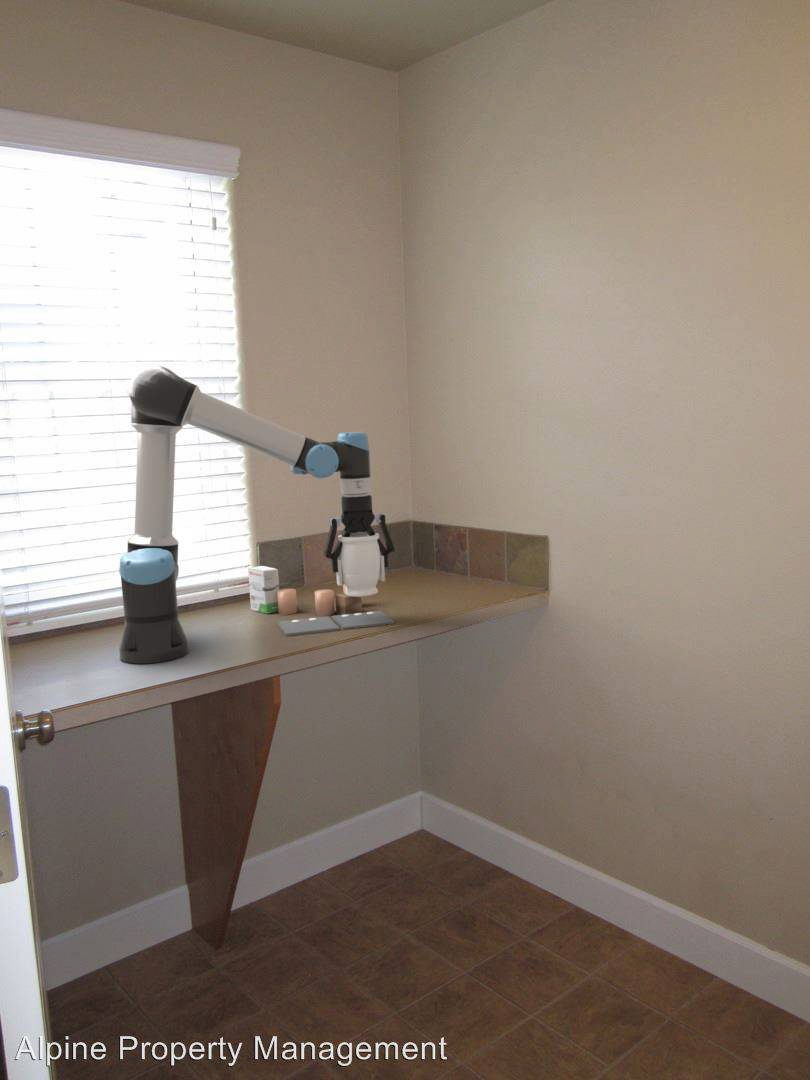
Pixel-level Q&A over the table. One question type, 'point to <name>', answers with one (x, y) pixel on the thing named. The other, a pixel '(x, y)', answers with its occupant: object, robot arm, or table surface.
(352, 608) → the walnut block
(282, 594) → the tan rounded block
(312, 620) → the pad two
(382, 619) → the pad three
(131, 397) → the robot arm
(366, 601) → the table surface
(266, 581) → the ink box
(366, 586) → the jar
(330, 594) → the pink rounded piece
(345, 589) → the pink rounded piece
